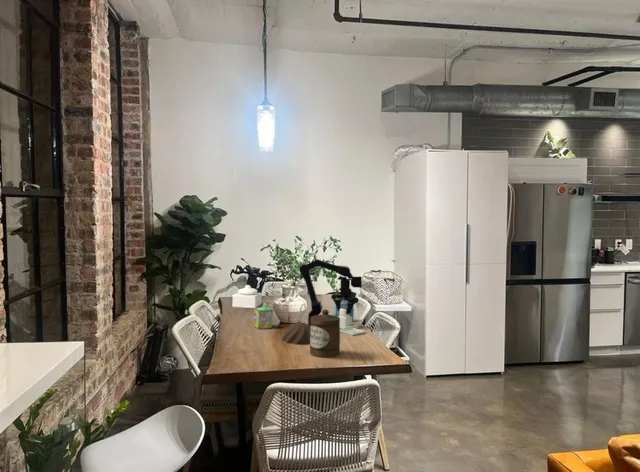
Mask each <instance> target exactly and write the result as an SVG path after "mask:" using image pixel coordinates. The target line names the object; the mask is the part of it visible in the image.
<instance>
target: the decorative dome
mask: <svg viewBox="0 0 640 472" xmlns="http://www.w3.org/2000/svg"><path fill="white" fill-rule="evenodd" d="M310 333H311V326H310V325H308V323H306V322H300V321H299V322H295V323H293V324H292V325H290V326H289V327H287V329H286V330H285V331H284V333H283V336H282V339H281V341H283V342H285V343H286V344H293V345H310Z"/></svg>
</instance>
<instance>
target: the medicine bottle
mask: <svg viewBox="0 0 640 472" xmlns="http://www.w3.org/2000/svg"><path fill="white" fill-rule="evenodd" d="M338 317H339V318H340V328H341V329H340V330H343V327H348V326H352V323H353V321H352V316H349V312H348V308H341V309H340V316H338Z"/></svg>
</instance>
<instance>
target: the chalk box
mask: <svg viewBox="0 0 640 472" xmlns="http://www.w3.org/2000/svg"><path fill="white" fill-rule="evenodd" d="M262 303H263V304H262V306H261V307H256V308H253V327H254V328H256V329H258V330H263V329H264V330H265V329H273V313H274V310H273V309H272V308H271V307H267V303H266V302H262Z"/></svg>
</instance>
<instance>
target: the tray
mask: <svg viewBox="0 0 640 472" xmlns="http://www.w3.org/2000/svg"><path fill="white" fill-rule="evenodd" d="M344 333H345V335H348V334H349V335H348V336H352V335H355V336H359V335H358V334H360V335H364V334H363V333H365V334H367V331H366V330H363V329H360V328H358V329H356V328H350V329H345V330H343V329H340V334H344Z"/></svg>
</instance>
